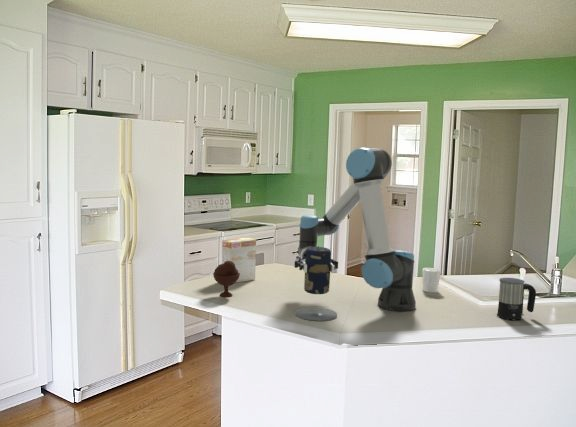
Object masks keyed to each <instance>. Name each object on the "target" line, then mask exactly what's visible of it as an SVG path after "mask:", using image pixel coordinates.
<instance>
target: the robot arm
mask: <svg viewBox="0 0 576 427" xmlns="http://www.w3.org/2000/svg"><path fill="white" fill-rule="evenodd" d="M345 161H346V162H345V168H346V172H347V174H348V175H349V176H350V177H351V178H352V180H353V182H352V183H351V184H350V185H349V187H348V188H347V189H346V190H345V191H344V192H343V193H342V194H341V196H340V197H338V198H337V200H336V201H335V202H334V204H332V206H331V207H330V208H329V209H328V210H327V211H326V213H324V215H323V216H321V218H319V217H318V216H317V215H314V214H313V215H311V214H308V215H307V214H306V215H305V214H304V215H302V216H301V217H300V223H299V240H298V241H299V243H298V247H297V254H298V256H296V258H295V260H294V269H295V268H296V269H297V268H298V270H299V271H302V270H303V272H304V274H305V273H307V264H306V263H305V260H306V249H307V248H309V247H318V237H324V236H330V235H333V234H335V233H337V232H338V230H339V227H340V224H341V223H342V222H343V221H344V220H345V219H346V217H347V216H348V215H349V214H350V213H351V212H352V211H353V210H354V209H355V208H356V206H357V205H358V204H359V203H360V205H361V206H360V207H361V212H362V213H361V214H362V219H363V220H362V221H363V226H364V232H365V240H366V245H367V250H366V252H365V253H364V261H365V262H364V263H363V265H362V267H361V274H362V275H361V276H362V278H363V280H364V282H365V283H366V284H368V285H369V286H370V287H372V288H374V289H381V291H380V293H379V296H378V298H377V306H378V307H381V309H385V310H389V311H390V310H391V311H397V312H409V311H412V310H415V309H416V307H417V306H416V304H417V302H416V298H415V295H414V291H413V281H414V269H415V268H414V267H415V254H414V253H413V252H412V251H406V250H400V249H394V248H393V247H392V246H391V245H390V244H391V243H390V238H389V230H388V224H387V218H386V212H385V204H384V197H383V192H382V190H383V189H382V183H383V182H384V181H385V178H387V176H388V175H389V173H390V172H391V171H392V170H391V169H392V166H393V160H392V157H391V155H390V153H388V151H386V150H385V149H383V148H379V147H377V148H374V147H359V148H358V147H357V148H355V149H353V150H352V151H351V152H350V153H349V155H348V156H347V158H346V160H345ZM338 268H339V261H337V260H335V259H332V258H331V264H330V274H331V273H332V274H334V273H335V270H337V269H338Z"/></svg>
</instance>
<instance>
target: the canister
mask: <svg viewBox="0 0 576 427" xmlns="http://www.w3.org/2000/svg"><path fill="white" fill-rule="evenodd" d="M331 259H332V251H331V250H330V248H327V247H324V246H323V247H322V246H319V245H317V247H309V248H307V249H306V260H305V263H306V264H307V273H305V272H304V281H303V282H304V286H303V289H304V291H305V292H306V293H308V294H311V295H325V294H328V293H329V291H330V283H331V282H330V280H331V271H330V264H331Z"/></svg>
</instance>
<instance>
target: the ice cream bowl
mask: <svg viewBox="0 0 576 427" xmlns="http://www.w3.org/2000/svg"><path fill="white" fill-rule="evenodd" d="M214 270H215V271H214V272H213V273H212V274H213V278H214V281H216V282H217V284H219V285H220V286H222V287H223V291H222V292H221V293H220V294H219V297H220V298H221V297H222V298H232V297H233V295H234V294H233V293H231V292H230V291H229V287H231V286H233V285H234V284H236V283H235V282H236V281H237V280H238V278H239V275H240V273H238V270H237V269H236V267H235V264H234V263H233V262H232V261H225V262H224V263H223V264H222V263H221V264H219V265H218V266H216V268H215V269H214Z"/></svg>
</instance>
